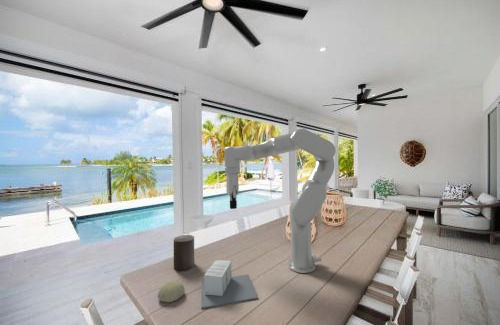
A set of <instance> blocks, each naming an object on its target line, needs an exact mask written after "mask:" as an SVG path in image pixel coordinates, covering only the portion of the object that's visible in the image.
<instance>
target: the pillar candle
mask: <svg viewBox="0 0 500 325" xmlns="http://www.w3.org/2000/svg"><path fill="white" fill-rule="evenodd" d="M194 267H195V236H194V235H192V234H182V235H177V236H176V237H174V238H173V270H175V271H177V272H184V271H187V270H189V271H190V269H192V268H194Z"/></svg>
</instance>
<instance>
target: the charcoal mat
mask: <svg viewBox="0 0 500 325" xmlns="http://www.w3.org/2000/svg"><path fill="white" fill-rule="evenodd" d="M200 284H201V289H200V291H201V292H200V293H201V296H200V297H201V303H200V304H201V310H203V309H205V310H206V309H210V308H215V307H221V306H227V305H232V304H238V303H242V302H247V301H248V302H249V301H254V300H259V296H258V294H257V291H256V290H255V286H254V284H253V282H252V280H251V278H250V276H249V274H243V275H241V274H240V275H235V276H232V278H231V280H230V282H229V284H228V286H227V288H226V290H225V292H224V294H223V296H216V295H205V289H204V280H202V281H201V283H200Z"/></svg>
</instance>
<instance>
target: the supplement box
mask: <svg viewBox="0 0 500 325" xmlns="http://www.w3.org/2000/svg"><path fill="white" fill-rule="evenodd" d="M232 277H233V274H232V261H231V260H221V259H220V260H218V259H216V260H214V262H213V263H212V264H211V266H210V267H209V269H208V270H207V271H206V272H205V274H203V281H204V289H205V295H216V296H223V294H224V292H225V290H226V288H227V286H228V284H229V282H230V280H231V278H232Z"/></svg>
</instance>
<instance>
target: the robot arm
mask: <svg viewBox="0 0 500 325" xmlns="http://www.w3.org/2000/svg"><path fill="white" fill-rule="evenodd" d="M298 150H302V151H304V152H306V153H308V154H310V155H312V156H313V158H314V160H315V165H314V166H313V169H312V171H311V173H310V175H309V176H308V178H307V179H306V181H305V182H304V184H303V185H302V187H301V194H300V196H299V197H298V198H296V199H294V200H293V201H292V202H291V203H290V205H289V220H290V222H289V224H290V229H289V230H290V260H288V262H287V267H288V268H289V269H290V270H291V271H293V272H296V273H299V274H300V273H301V274H307V273H308V274H309V273H311V272H314V271H315V270H316V264H315V263H316V262H322V257H321V256H316V255H313V252H312V221H313V220H314V218H315V217H316V216H317V214H318V213H319V211H320V209H321V208H322V206H323V204H324V202H325V200H326V199H327V188H326V187H327V184H328V183H329V182H330V180H331V178H332V176H333V174H334V171H335V158H334V156H335V155H336V151H337V150H336V146H335V145H334V144H333V143H332V142H331V141H329V139H326V138H324V137H322V136H320V135H318V134H316V133H314V132H312V131H310V130H308V129H306V128H298V129H296V130H295V131H294V132H290V133H286V134H281V135H278V136H274V137H272V138H269V139H268V140H266V141H264V142H262V143H259V144H255V145H251V146H250V145H247V144H244V145H240V146H236V145H235V146H229V145H228V146H226V147H224V175H226V189H225V190H226V194H227V195H228V196H229V209H230V210H237V207H238V204H237V203H238V201H237V196H238V195H239V193H240V192H239V191H240V190H239V188H240V187H239V175H241V161H243V162H244V161H245V162H250V161H251V162H253V161H256V160H259V159H264V158H267V157H274V156H279V155H283V154H285V153H289V152H294V151H298Z"/></svg>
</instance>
